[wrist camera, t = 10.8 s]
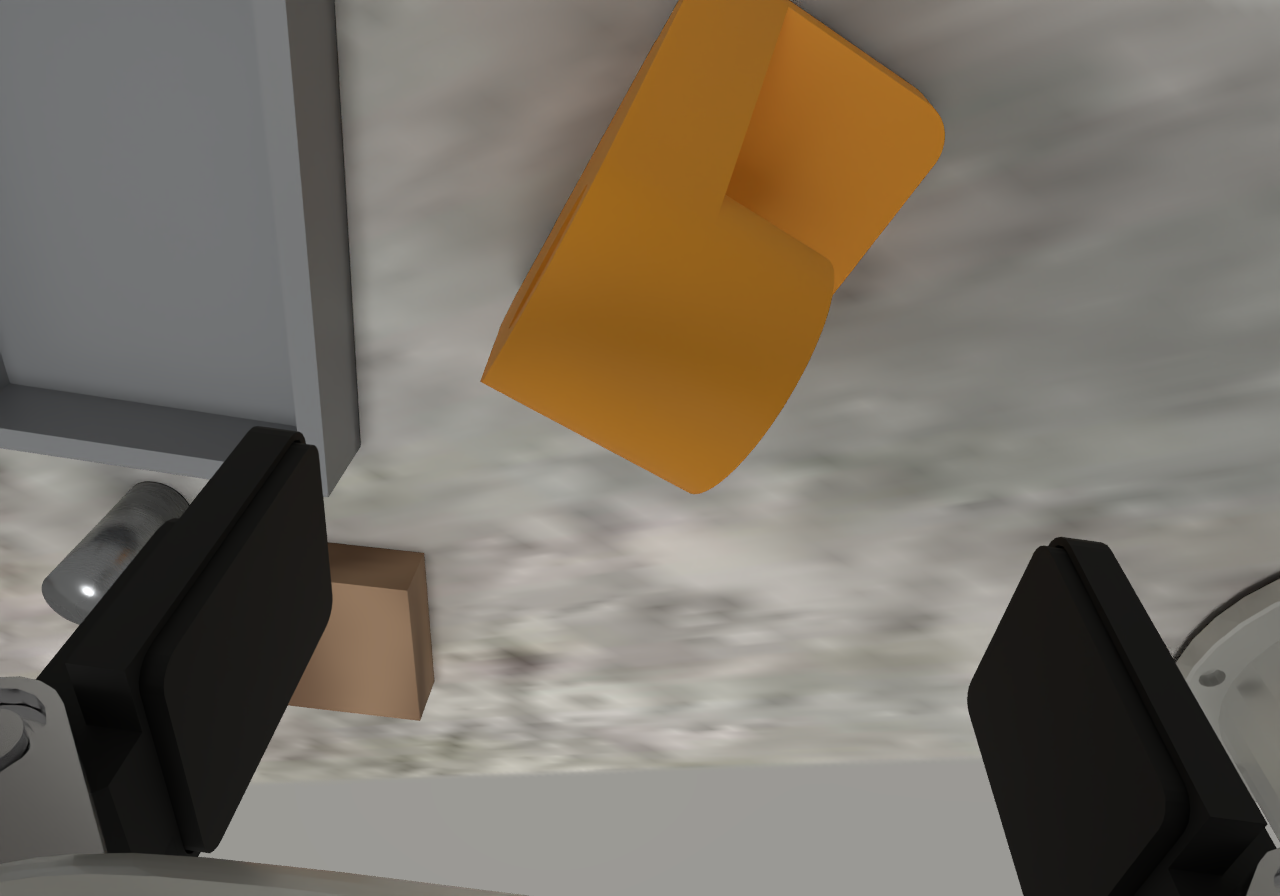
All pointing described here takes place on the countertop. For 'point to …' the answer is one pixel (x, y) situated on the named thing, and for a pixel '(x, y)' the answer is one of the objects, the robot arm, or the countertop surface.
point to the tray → (173, 232)
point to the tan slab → (372, 637)
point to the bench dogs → (109, 549)
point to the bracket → (712, 237)
